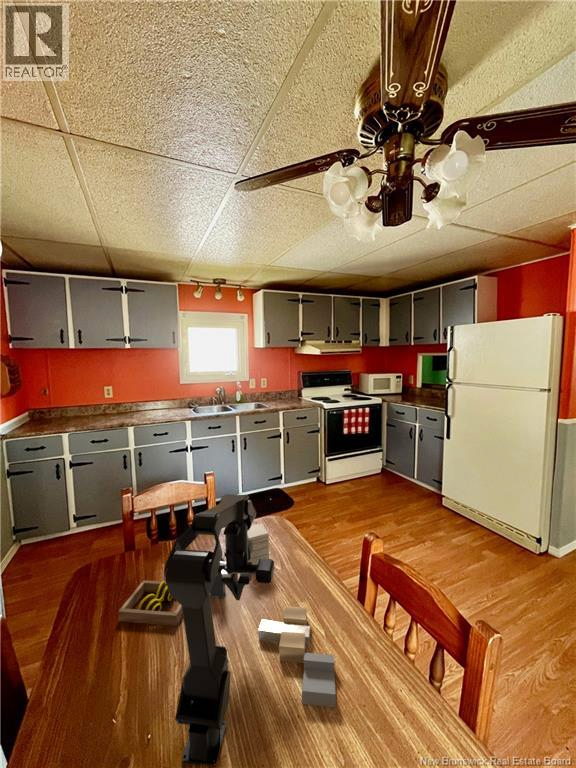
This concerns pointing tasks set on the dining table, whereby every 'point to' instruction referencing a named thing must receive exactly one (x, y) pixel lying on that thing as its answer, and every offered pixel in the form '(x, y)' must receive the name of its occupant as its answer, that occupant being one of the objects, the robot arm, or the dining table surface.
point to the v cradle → (318, 680)
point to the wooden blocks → (293, 635)
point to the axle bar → (272, 630)
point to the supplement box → (258, 543)
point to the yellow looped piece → (156, 599)
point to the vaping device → (218, 585)
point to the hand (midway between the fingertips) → (238, 599)
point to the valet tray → (145, 615)
